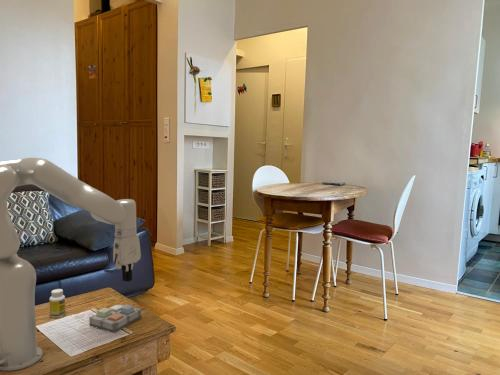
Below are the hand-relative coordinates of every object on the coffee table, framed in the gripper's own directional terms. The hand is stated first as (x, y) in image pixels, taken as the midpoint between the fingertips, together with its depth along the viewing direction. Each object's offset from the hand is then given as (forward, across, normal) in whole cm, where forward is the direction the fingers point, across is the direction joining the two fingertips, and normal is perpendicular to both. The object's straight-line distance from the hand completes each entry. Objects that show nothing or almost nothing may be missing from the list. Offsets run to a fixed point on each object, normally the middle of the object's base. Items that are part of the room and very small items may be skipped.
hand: (127, 280), depth 146 cm
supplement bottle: (+15, -9, +27) cm, 32 cm away
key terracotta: (+14, -6, 0) cm, 15 cm away
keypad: (+15, -3, +3) cm, 16 cm away
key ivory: (+14, 0, +6) cm, 15 cm away
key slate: (+13, 0, 0) cm, 13 cm away
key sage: (+13, -6, +6) cm, 15 cm away
